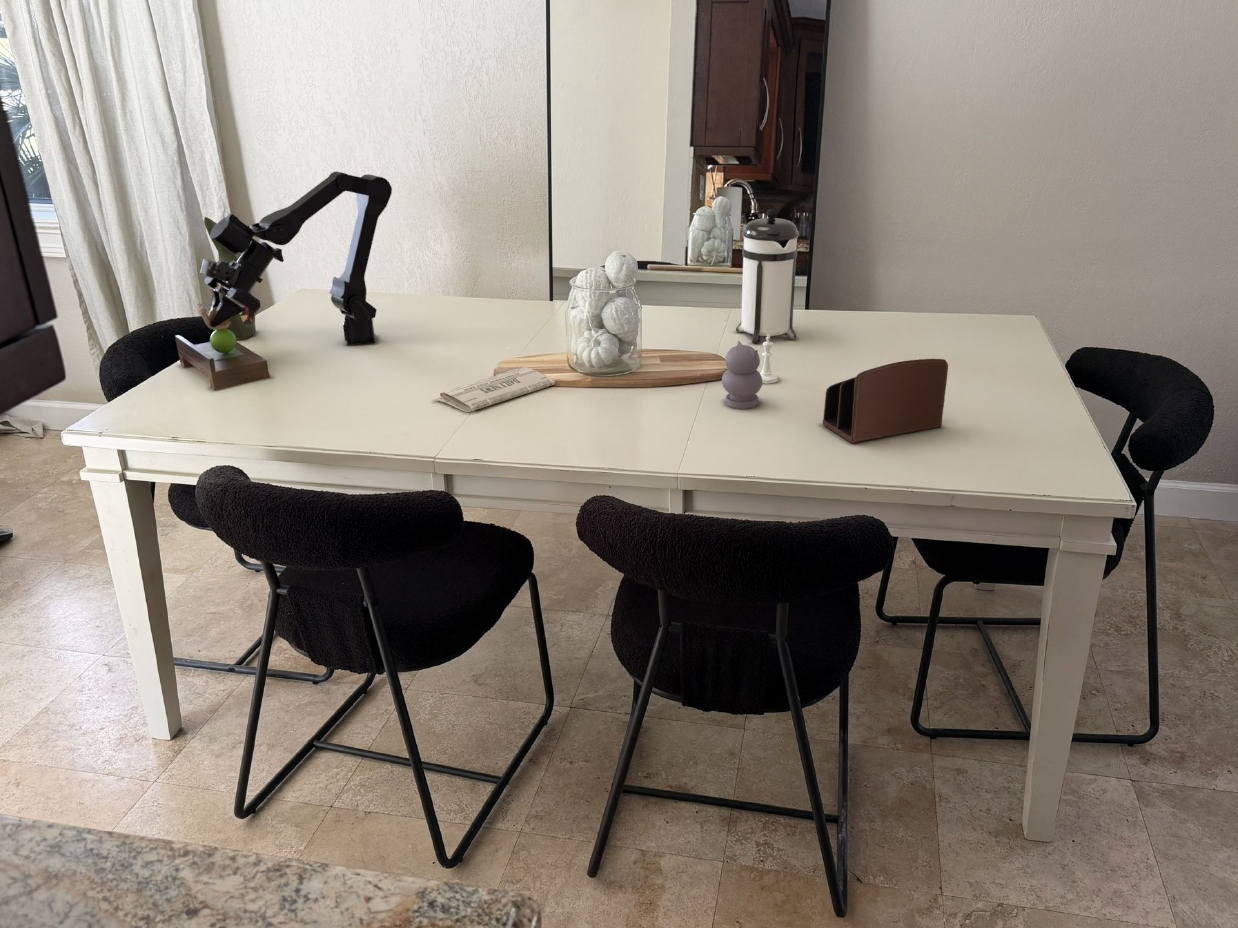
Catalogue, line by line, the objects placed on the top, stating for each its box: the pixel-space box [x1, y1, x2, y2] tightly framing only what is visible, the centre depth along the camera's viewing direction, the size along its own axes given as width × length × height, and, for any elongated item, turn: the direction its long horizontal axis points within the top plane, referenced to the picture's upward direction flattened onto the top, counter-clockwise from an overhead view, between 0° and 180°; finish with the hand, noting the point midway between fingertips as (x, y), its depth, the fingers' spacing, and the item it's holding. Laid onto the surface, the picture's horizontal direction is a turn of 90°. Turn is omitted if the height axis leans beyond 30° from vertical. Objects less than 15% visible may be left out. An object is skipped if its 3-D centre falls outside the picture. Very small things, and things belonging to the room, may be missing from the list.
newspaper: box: [435, 366, 556, 413], centre depth 209 cm, size 23×12×2 cm, turn 135°
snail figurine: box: [197, 302, 237, 353], centre depth 221 cm, size 5×6×12 cm
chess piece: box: [759, 334, 779, 385], centre depth 212 cm, size 5×5×10 cm
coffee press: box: [735, 208, 800, 345], centre depth 237 cm, size 17×16×30 cm
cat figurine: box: [721, 340, 764, 410], centre depth 199 cm, size 8×8×12 cm
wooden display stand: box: [174, 334, 271, 391], centre depth 223 cm, size 12×22×7 cm, turn 39°
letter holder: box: [822, 358, 949, 444], centre depth 187 cm, size 10×20×14 cm, turn 112°
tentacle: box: [203, 216, 257, 340], centre depth 243 cm, size 9×12×30 cm
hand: (209, 325), depth 220 cm, fingers closed on snail figurine, 2 cm apart
